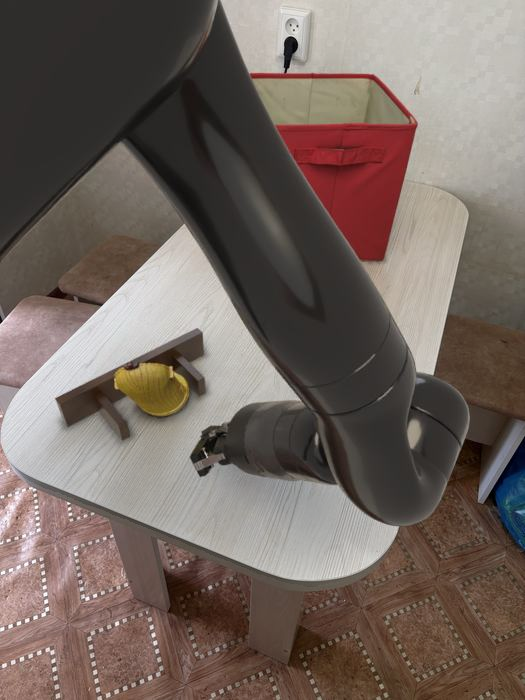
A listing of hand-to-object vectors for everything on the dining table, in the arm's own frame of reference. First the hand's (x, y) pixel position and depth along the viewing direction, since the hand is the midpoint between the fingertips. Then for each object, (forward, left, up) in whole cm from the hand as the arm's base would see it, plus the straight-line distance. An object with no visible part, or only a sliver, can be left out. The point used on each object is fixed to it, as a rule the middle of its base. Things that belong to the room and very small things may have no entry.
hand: (208, 436), depth 64 cm
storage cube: (+55, +36, -7) cm, 66 cm away
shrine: (0, +12, -7) cm, 14 cm away
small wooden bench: (0, +15, -7) cm, 16 cm away
